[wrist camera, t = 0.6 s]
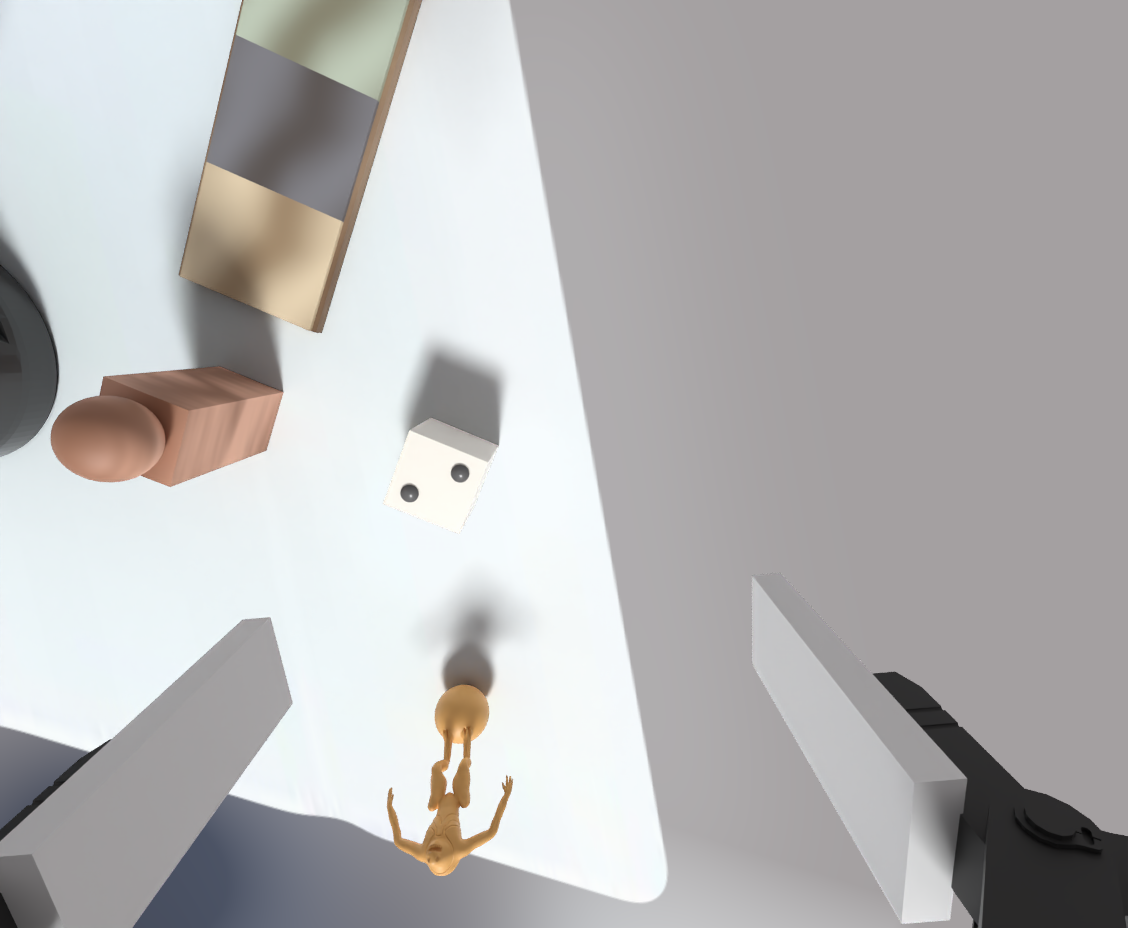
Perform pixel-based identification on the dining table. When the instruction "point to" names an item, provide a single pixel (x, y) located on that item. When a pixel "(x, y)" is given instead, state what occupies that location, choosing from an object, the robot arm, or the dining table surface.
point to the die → (440, 474)
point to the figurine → (443, 845)
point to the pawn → (166, 425)
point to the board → (294, 150)
